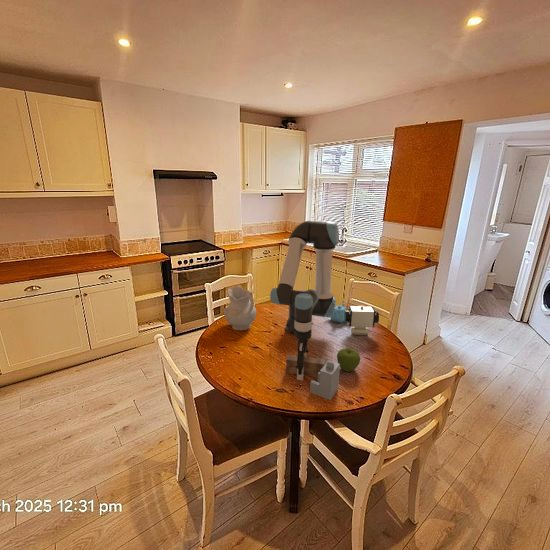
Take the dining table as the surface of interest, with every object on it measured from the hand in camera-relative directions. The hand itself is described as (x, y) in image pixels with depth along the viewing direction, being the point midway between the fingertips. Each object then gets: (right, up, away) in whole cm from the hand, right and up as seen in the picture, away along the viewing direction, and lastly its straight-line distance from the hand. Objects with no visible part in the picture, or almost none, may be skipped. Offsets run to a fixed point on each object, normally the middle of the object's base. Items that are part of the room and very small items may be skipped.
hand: (301, 372), depth 137 cm
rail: (+2, 0, 0) cm, 2 cm away
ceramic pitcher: (-32, +13, +45) cm, 56 cm away
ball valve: (+37, +10, +35) cm, 52 cm away
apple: (+22, 0, +2) cm, 22 cm away
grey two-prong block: (+8, -4, -12) cm, 15 cm away
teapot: (+28, +15, +53) cm, 62 cm away
